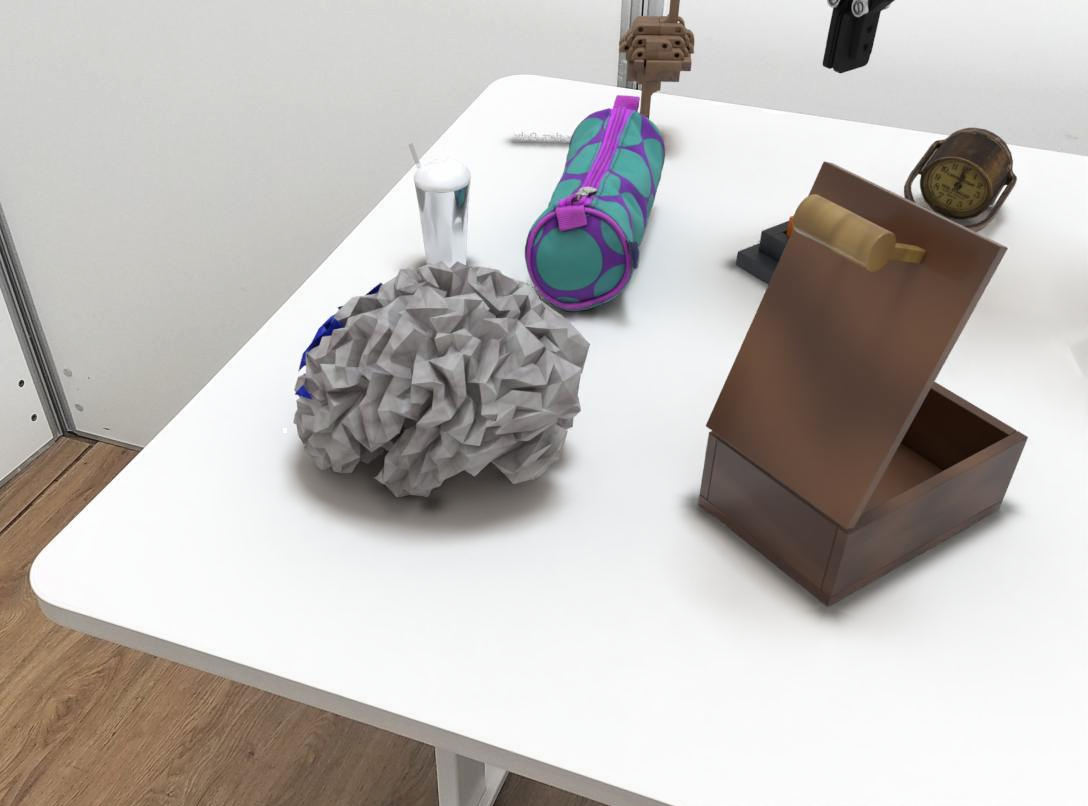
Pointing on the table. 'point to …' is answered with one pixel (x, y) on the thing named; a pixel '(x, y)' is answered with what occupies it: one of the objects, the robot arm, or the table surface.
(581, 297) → the pencil case
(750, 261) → the push button base
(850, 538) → the brown wooden case body
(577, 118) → the table surface
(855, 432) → the case lid
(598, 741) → the table surface
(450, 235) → the milkshake
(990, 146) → the vintage brass clock
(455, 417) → the educational model
